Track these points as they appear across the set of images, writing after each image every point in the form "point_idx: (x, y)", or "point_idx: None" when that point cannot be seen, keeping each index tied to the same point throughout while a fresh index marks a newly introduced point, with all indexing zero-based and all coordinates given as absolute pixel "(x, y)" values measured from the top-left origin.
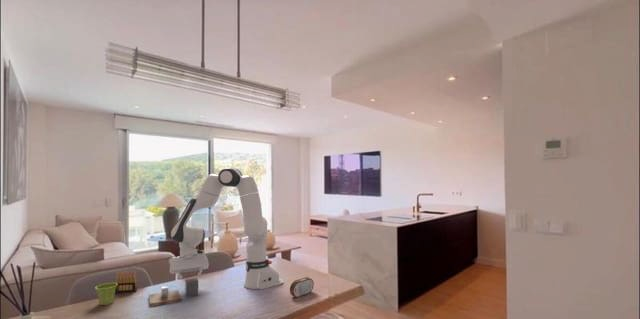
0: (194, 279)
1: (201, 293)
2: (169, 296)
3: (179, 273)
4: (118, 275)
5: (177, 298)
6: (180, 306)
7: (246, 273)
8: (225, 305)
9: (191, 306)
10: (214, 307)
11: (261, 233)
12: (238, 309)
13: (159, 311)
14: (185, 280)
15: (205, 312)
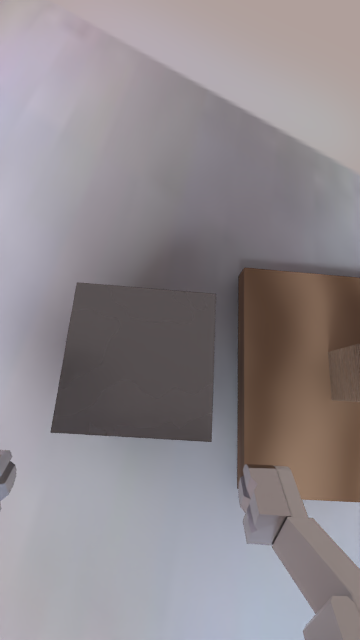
0: (99, 366)
1: None
2: (318, 354)
3: (326, 560)
4: None
5: (266, 276)
6: (249, 199)
7: None
8: (32, 82)
9: (194, 165)
10: (91, 91)
11: None
12: (4, 16)
13: (357, 196)
14: (210, 393)
15: (149, 66)
